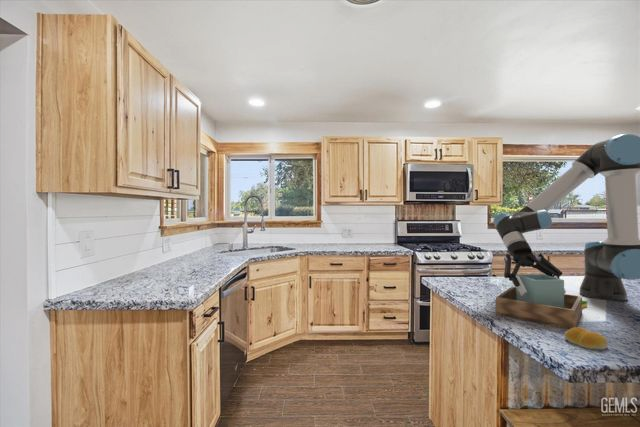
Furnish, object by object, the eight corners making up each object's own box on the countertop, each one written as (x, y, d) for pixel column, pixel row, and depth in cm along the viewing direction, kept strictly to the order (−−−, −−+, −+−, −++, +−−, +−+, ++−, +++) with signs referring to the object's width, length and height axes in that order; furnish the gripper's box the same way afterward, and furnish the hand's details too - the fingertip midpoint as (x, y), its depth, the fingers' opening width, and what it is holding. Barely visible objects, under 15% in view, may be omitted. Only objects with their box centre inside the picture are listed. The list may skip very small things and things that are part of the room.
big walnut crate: (582, 313, 115) (582, 296, 115) (574, 330, 99) (574, 310, 99) (512, 301, 130) (512, 286, 130) (495, 314, 114) (495, 297, 114)
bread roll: (596, 353, 84) (596, 338, 84) (559, 340, 92) (559, 326, 92) (615, 348, 87) (615, 333, 87) (578, 335, 95) (578, 322, 95)
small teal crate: (543, 306, 120) (543, 274, 119) (564, 315, 110) (564, 280, 109) (516, 306, 119) (516, 274, 119) (534, 315, 109) (534, 280, 109)
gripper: (543, 251, 130) (573, 299, 115) (482, 251, 130) (503, 299, 115) (553, 239, 124) (585, 287, 109) (489, 240, 124) (512, 288, 109)
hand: (543, 294), depth 112 cm, fingers open, 13 cm apart
